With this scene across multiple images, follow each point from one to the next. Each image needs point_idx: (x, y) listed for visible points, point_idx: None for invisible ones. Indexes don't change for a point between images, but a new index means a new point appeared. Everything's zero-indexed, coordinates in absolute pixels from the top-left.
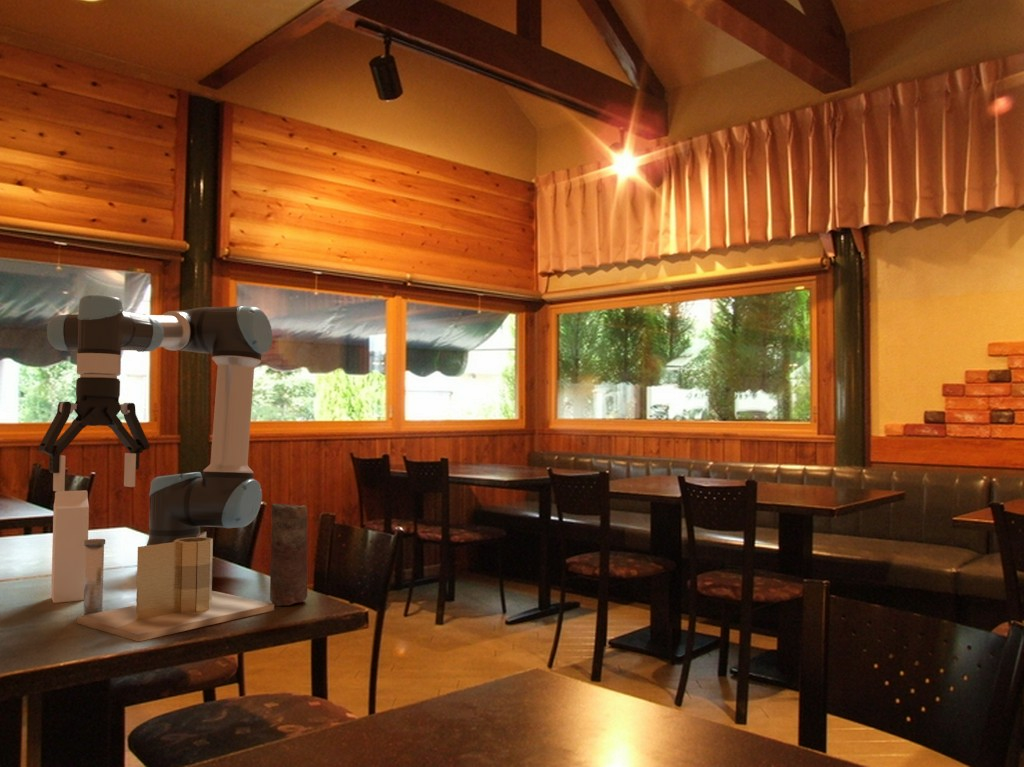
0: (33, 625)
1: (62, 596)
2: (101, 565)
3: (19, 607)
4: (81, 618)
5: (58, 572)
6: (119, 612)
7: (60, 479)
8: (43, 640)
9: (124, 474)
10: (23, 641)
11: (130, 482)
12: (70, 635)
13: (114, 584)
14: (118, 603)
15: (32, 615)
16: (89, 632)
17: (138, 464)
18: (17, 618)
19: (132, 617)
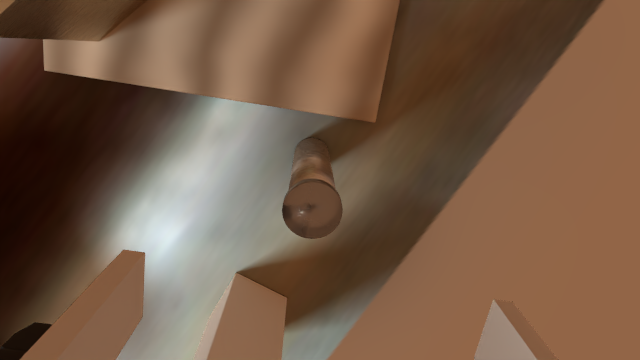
0: (419, 178)
1: (272, 297)
2: (306, 165)
3: (338, 317)
4: (378, 105)
5: (276, 332)
6: (309, 75)
7: (543, 342)
8: (490, 59)
9: (114, 358)
10: (509, 87)
11: (134, 274)
12: (444, 46)
13: None
14: (219, 195)
15: (368, 246)
16: (412, 33)
17: (11, 344)
18: (395, 248)
19: (327, 7)
